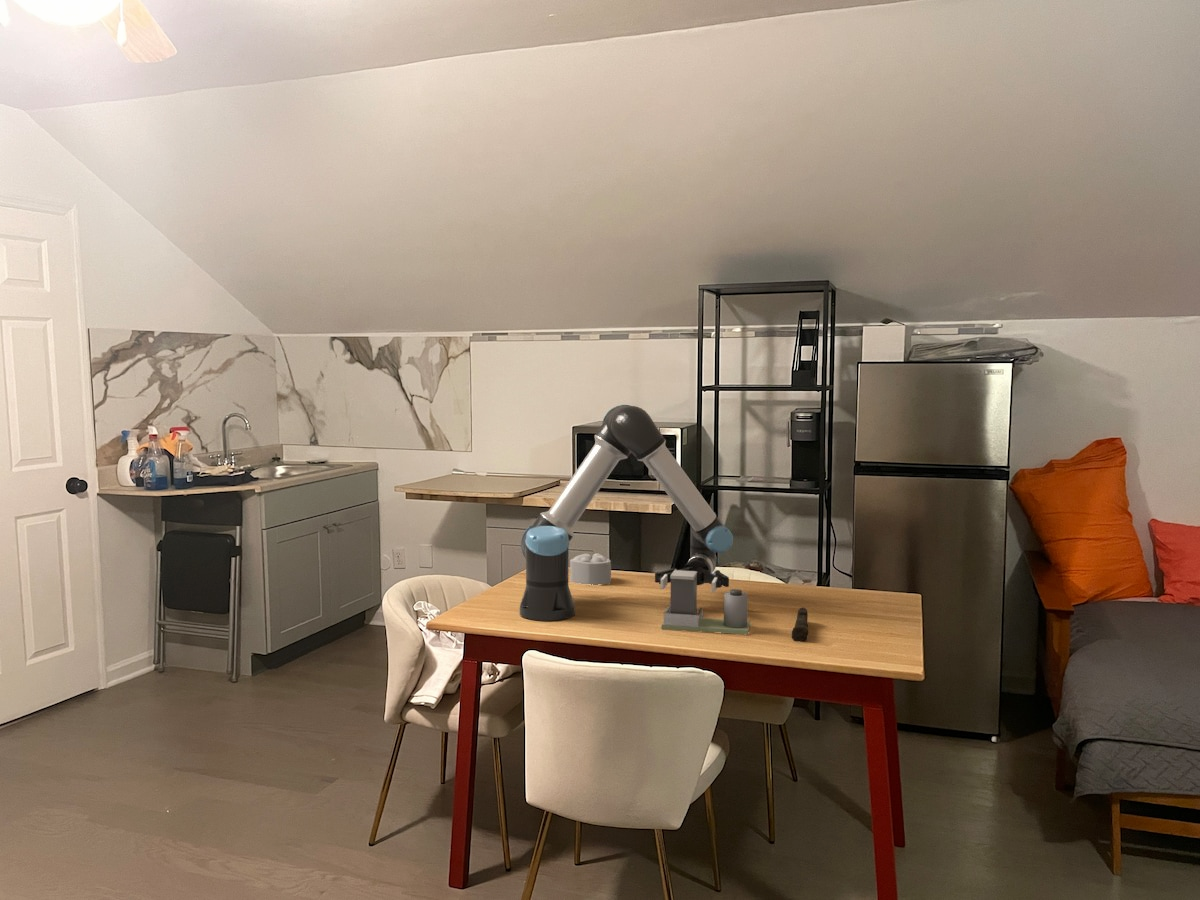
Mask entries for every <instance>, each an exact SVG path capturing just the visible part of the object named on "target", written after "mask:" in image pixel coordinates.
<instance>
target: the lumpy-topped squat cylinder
mask: <svg viewBox="0 0 1200 900" xmlns="http://www.w3.org/2000/svg"><path fill="white" fill-rule="evenodd" d="M569 564H570V565H569V567H570V568H569V570H570V571H569V573H570V574H569V582H570V581H571V582H575V583H581V584H591V585H592V584H593V585H598V584H609V583H611V584H612V561H611V559H610V558H607V557H605V556H604V555H602V554H601V553H594V554H592V555H591V554H589V553H582V554H579V555H575V557H573V558H571V559H570V561H569ZM571 582H570V583H571ZM575 583H574V584H575ZM581 584H580V585H581ZM609 585H610V584H609Z"/></svg>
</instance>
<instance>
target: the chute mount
mask: <svg viewBox="0 0 1200 900" xmlns="http://www.w3.org/2000/svg"><path fill="white" fill-rule="evenodd" d="M670 606H671V604H670V605H668V606H667V607H666V609H665V610H664V612H663V622H664V625H675V626H689V627H699V625H700V623H701V621H702V619H703V618H704V617H703V615H704V614H703V613H704V612H703V607H702V606H701V607H700V608H699V610H698V612H697V613H696V615H690V614H675V613H670Z"/></svg>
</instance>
